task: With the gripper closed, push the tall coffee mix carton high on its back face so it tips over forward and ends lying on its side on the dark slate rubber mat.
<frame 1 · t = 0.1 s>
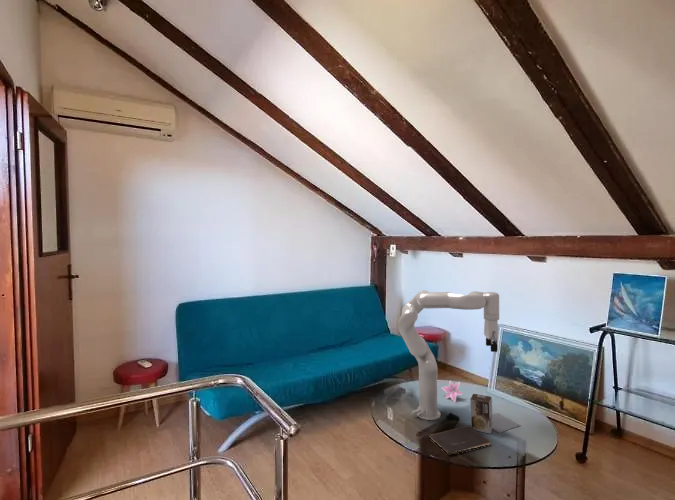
hand: (491, 348, 197), 37 cm above the table, tool pointing down, fingers open, 9 cm apart
slate mat: (498, 423, 194), on the table
hardcover book: (458, 443, 178), on the table
coffee box: (482, 428, 189), on the table, touching slate mat
lily: (452, 398, 223), on the table
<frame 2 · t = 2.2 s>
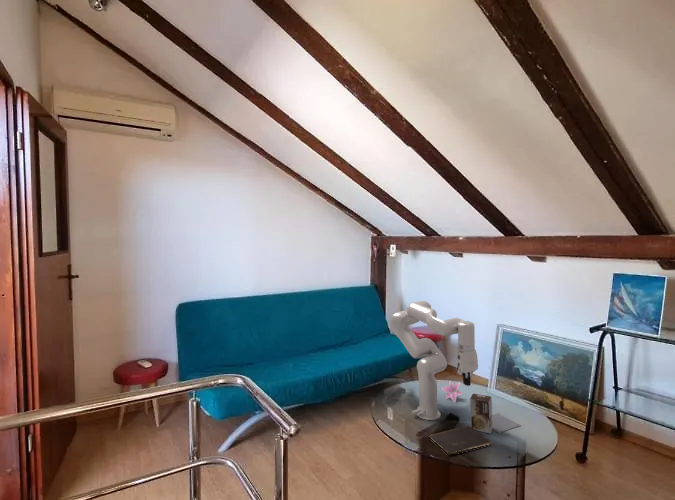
hand: (466, 384, 183), 25 cm above the table, tool pointing down, fingers closed
nothing on the table moved.
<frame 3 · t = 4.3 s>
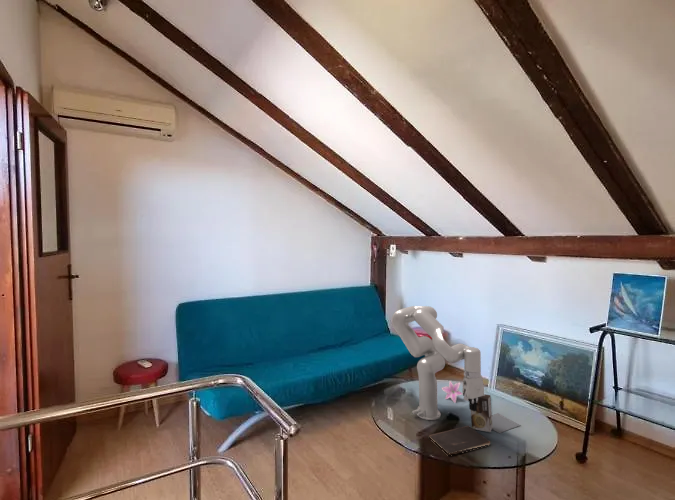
hand: (473, 409, 185), 11 cm above the table, tool pointing down, fingers closed
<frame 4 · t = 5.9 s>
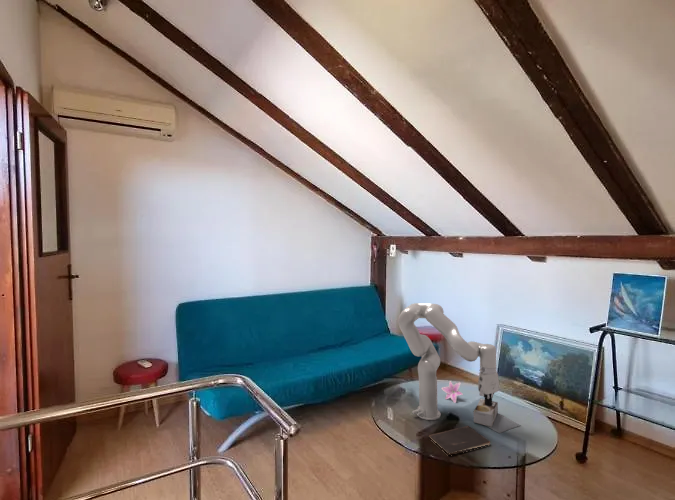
hand: (488, 405, 190), 11 cm above the table, tool pointing down, fingers closed
coffee box: (482, 419, 191), point 4 cm above the table, touching slate mat
everything else where it was.
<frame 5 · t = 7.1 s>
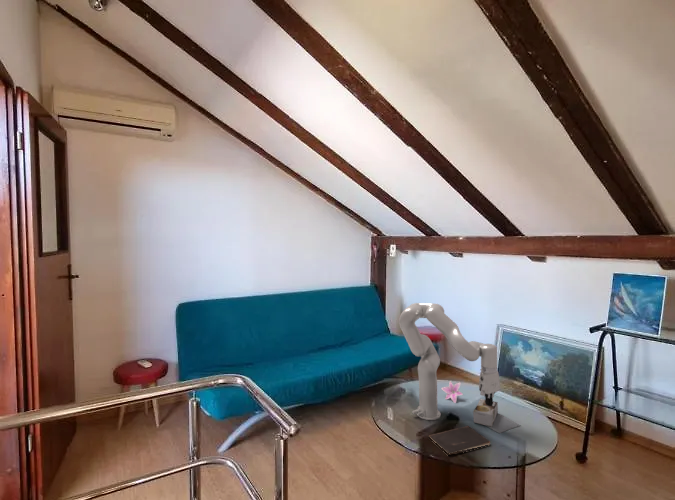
hand: (488, 404, 190), 11 cm above the table, tool pointing down, fingers closed
nothing on the table moved.
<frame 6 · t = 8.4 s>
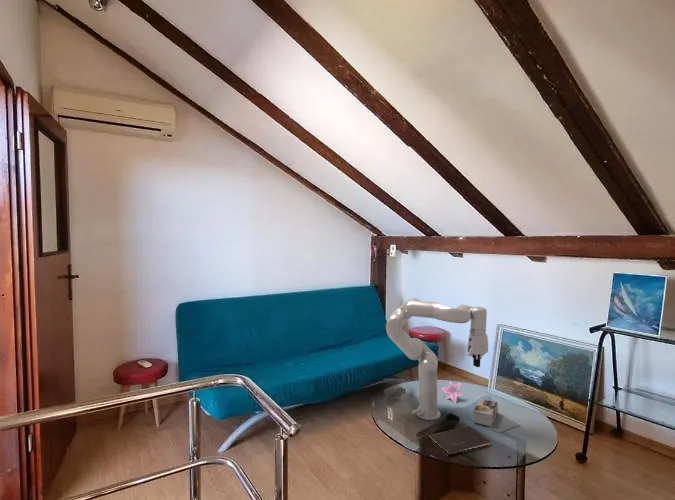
hand: (476, 366, 195), 29 cm above the table, tool pointing down, fingers closed
nothing on the table moved.
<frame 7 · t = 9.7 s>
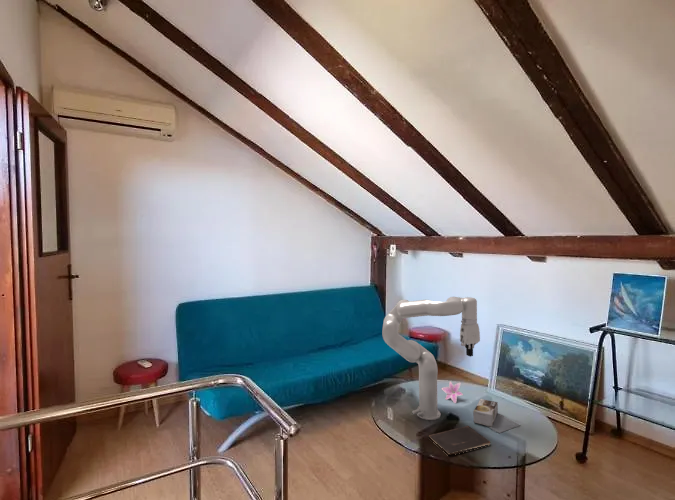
hand: (469, 355, 199), 33 cm above the table, tool pointing down, fingers closed
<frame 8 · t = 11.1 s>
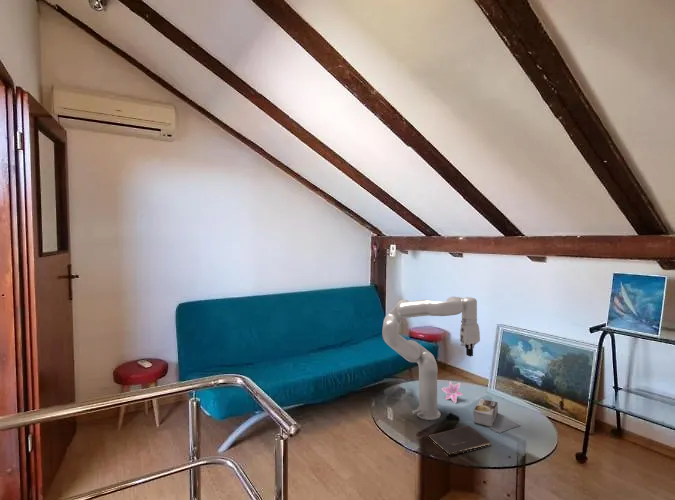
hand: (469, 355, 199), 33 cm above the table, tool pointing down, fingers closed
at the end: coffee box tilted 90°; coffee box touching slate mat; coffee box inside the target area (3.4 cm from its centre), point 3.6 cm above the table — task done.
